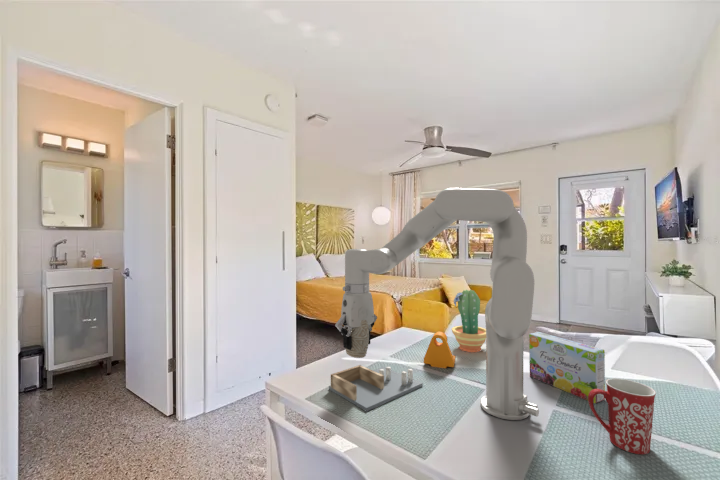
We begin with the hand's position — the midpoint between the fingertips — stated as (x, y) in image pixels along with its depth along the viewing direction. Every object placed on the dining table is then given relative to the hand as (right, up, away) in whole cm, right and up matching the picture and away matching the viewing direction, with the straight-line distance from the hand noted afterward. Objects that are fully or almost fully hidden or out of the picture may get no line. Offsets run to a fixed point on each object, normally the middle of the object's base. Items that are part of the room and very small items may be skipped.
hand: (357, 345), depth 105 cm
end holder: (0, -13, 0) cm, 13 cm away
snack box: (+66, -14, +2) cm, 67 cm away
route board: (+6, -14, +2) cm, 16 cm away
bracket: (+31, -14, +22) cm, 41 cm away
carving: (0, -3, 0) cm, 3 cm away
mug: (+61, -14, -27) cm, 68 cm away
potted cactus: (+48, -14, +39) cm, 64 cm away
